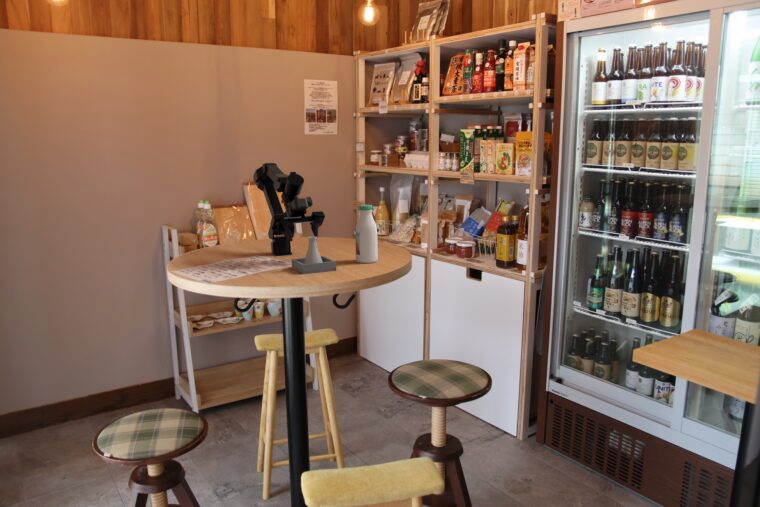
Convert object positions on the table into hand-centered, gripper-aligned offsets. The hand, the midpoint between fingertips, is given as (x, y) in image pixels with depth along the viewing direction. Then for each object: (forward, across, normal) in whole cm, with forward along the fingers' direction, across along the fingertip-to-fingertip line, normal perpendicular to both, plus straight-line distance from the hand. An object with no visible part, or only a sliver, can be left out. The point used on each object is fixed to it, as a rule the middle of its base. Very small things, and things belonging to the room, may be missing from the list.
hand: (304, 239), depth 210 cm
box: (+12, 0, +1) cm, 12 cm away
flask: (+11, 0, +1) cm, 11 cm away
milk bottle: (+10, +21, +3) cm, 24 cm away
